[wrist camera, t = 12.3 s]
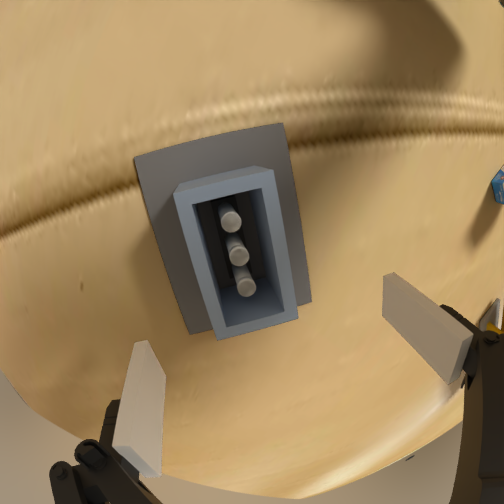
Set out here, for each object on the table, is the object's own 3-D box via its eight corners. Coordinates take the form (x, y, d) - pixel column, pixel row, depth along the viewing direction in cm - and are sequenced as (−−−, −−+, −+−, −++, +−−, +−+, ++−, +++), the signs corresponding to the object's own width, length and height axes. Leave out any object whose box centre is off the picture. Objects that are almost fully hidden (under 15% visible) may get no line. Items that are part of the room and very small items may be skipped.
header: (134, 157, 27) (117, 158, 21) (282, 122, 29) (303, 115, 23) (189, 333, 35) (190, 368, 29) (311, 300, 37) (332, 329, 30)
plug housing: (179, 183, 29) (172, 193, 21) (254, 165, 30) (273, 169, 22) (212, 300, 34) (217, 340, 26) (277, 283, 35) (298, 318, 27)
